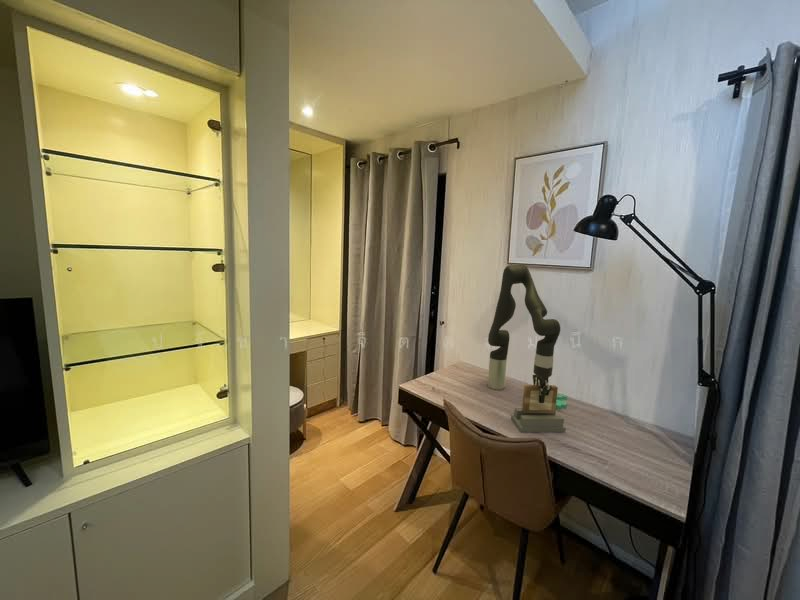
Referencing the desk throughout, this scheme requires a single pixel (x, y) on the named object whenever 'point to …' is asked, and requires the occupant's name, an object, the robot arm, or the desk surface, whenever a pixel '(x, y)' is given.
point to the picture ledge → (537, 421)
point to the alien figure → (561, 402)
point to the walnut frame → (532, 400)
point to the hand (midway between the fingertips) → (539, 400)
